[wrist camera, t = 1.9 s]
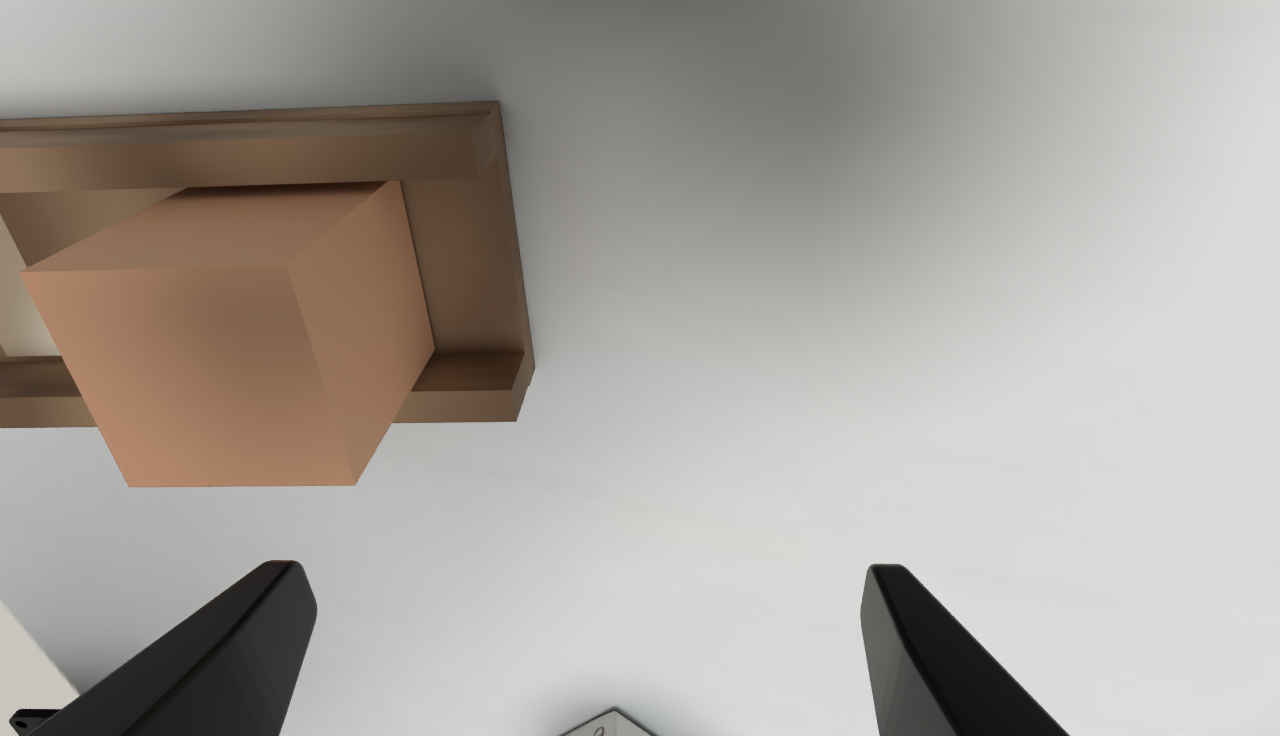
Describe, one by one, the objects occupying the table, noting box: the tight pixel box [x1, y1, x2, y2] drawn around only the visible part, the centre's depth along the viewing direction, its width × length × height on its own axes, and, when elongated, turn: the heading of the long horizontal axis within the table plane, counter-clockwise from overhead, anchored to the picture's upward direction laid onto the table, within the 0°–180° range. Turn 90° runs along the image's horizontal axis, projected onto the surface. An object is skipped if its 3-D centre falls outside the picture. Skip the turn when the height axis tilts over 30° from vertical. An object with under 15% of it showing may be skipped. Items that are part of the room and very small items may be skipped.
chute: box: [0, 101, 535, 428], centre depth 19 cm, size 16×8×3 cm, turn 92°
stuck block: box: [18, 181, 435, 487], centre depth 17 cm, size 5×5×6 cm
